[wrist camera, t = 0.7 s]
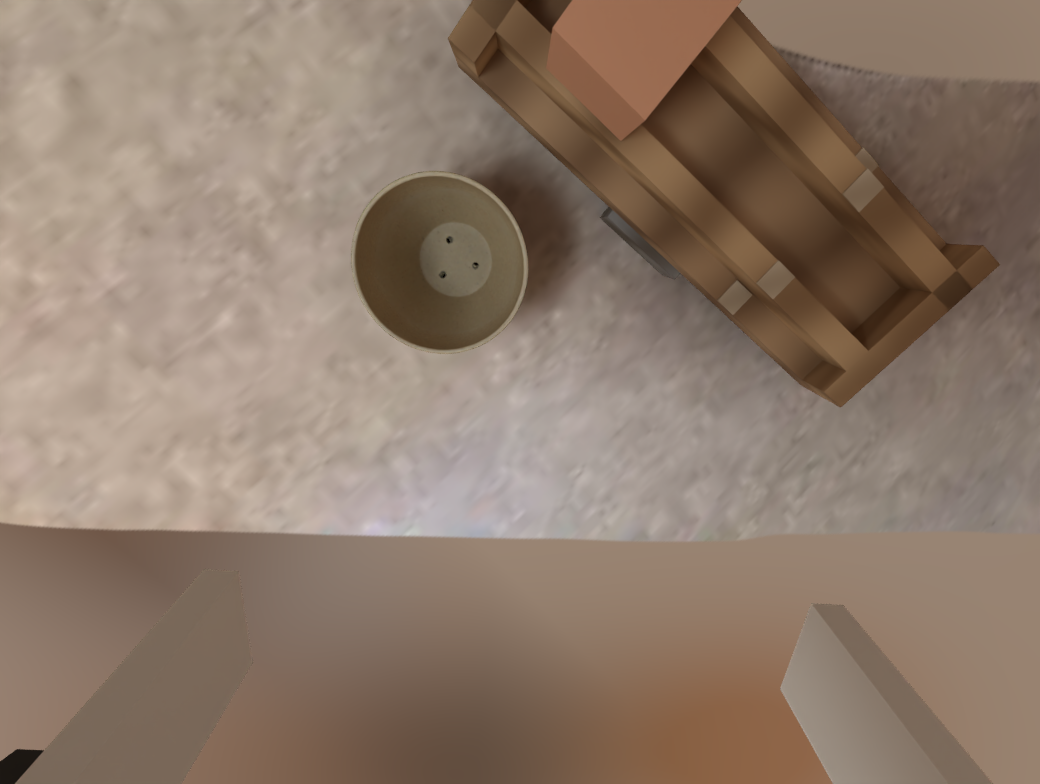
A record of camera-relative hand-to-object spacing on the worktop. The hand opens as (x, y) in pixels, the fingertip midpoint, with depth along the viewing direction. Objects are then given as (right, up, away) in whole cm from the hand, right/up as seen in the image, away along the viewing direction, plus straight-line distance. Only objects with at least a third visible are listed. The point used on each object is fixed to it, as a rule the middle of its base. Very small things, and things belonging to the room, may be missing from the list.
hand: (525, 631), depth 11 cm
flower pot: (-5, +15, +23) cm, 28 cm away
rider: (+5, +23, +14) cm, 28 cm away
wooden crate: (+11, +20, +21) cm, 31 cm away
